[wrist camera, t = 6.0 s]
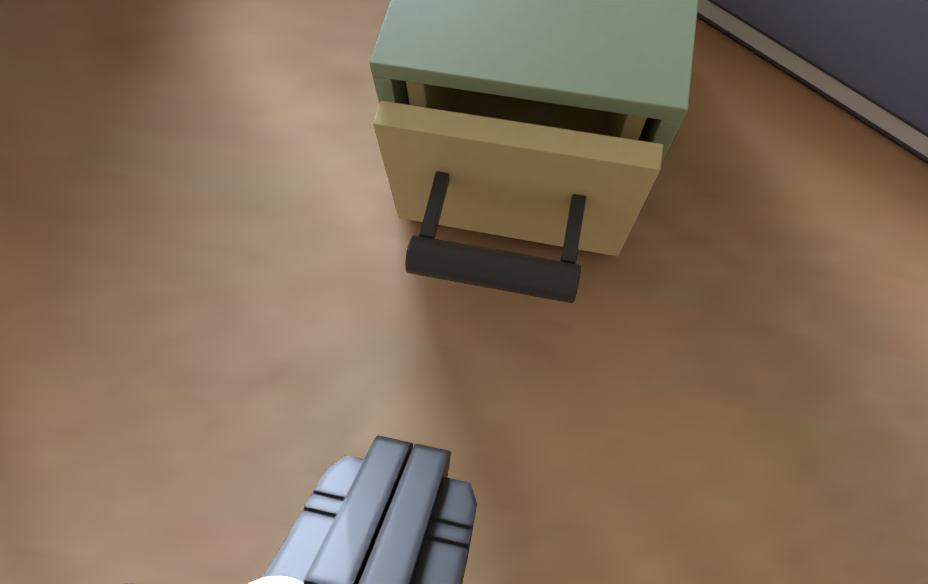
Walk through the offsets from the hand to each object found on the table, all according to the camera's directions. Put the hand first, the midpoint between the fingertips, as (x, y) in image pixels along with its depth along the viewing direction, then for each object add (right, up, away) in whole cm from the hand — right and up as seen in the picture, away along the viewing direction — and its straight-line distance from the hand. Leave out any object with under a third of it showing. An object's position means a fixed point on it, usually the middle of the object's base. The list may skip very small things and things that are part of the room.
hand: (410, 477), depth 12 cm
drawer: (+4, +11, +20) cm, 23 cm away
